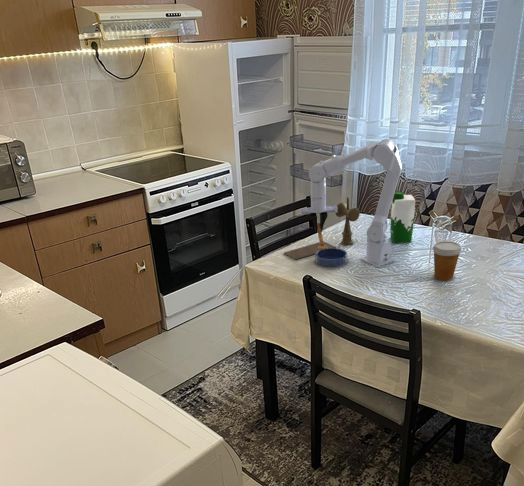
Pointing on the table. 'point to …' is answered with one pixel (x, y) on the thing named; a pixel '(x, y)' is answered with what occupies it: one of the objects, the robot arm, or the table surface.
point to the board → (306, 251)
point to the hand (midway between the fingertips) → (318, 231)
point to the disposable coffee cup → (445, 259)
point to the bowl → (331, 257)
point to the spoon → (320, 238)
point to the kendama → (347, 220)
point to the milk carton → (402, 217)
